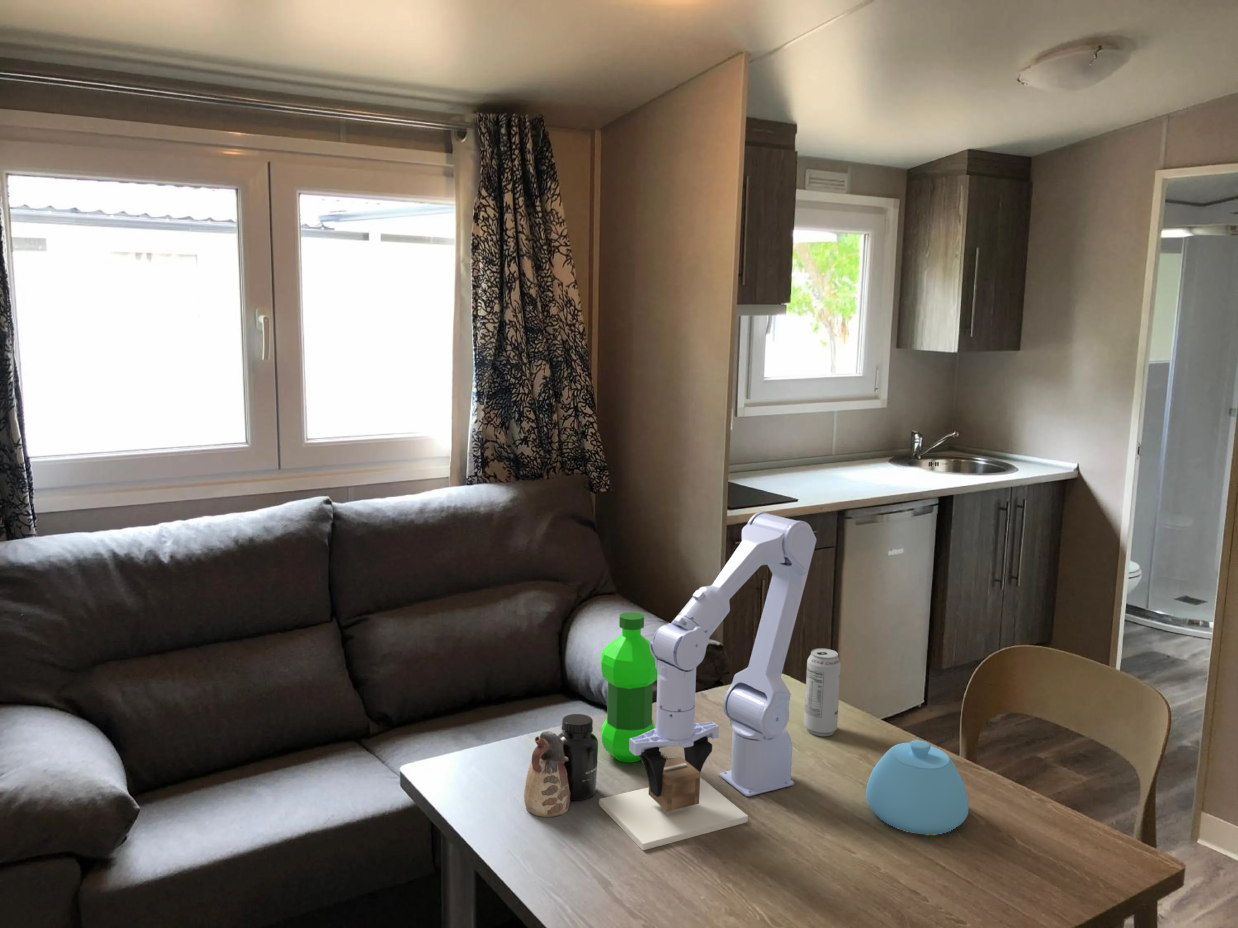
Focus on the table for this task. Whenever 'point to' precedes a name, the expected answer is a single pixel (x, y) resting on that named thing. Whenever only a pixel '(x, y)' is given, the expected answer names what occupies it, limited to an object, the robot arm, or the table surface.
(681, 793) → the walnut knob
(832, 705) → the energy drink can
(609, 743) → the plastic bottle
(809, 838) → the table surface
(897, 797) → the sugar bowl
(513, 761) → the table surface
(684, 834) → the board
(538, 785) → the figurine
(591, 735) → the supplement bottle
